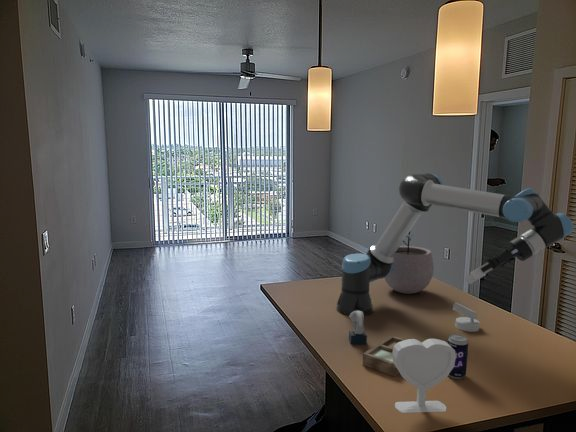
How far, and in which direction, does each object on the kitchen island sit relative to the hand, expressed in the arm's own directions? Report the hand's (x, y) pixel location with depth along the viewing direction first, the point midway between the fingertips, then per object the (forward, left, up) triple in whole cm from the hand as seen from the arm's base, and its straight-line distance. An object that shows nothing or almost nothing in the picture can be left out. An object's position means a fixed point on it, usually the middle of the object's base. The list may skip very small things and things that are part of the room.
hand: (469, 278), depth 148 cm
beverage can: (+5, -21, -25) cm, 33 cm away
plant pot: (-43, +46, -25) cm, 68 cm away
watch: (-30, -20, -25) cm, 44 cm away
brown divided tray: (-14, -25, -25) cm, 38 cm away
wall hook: (-6, +20, -25) cm, 32 cm away
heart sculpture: (+4, -44, -25) cm, 51 cm away
